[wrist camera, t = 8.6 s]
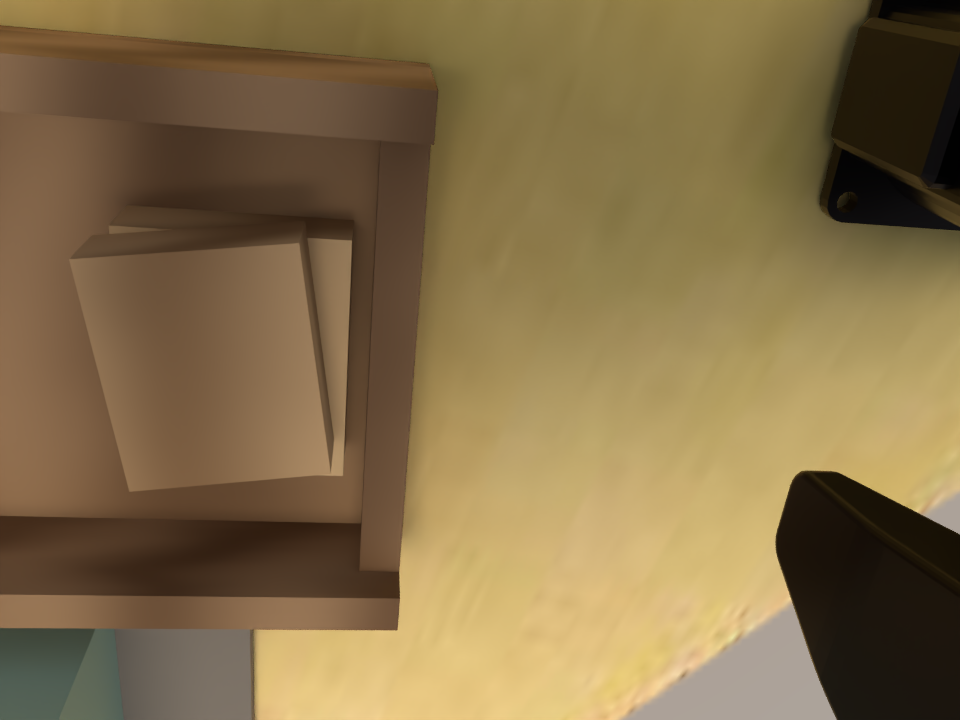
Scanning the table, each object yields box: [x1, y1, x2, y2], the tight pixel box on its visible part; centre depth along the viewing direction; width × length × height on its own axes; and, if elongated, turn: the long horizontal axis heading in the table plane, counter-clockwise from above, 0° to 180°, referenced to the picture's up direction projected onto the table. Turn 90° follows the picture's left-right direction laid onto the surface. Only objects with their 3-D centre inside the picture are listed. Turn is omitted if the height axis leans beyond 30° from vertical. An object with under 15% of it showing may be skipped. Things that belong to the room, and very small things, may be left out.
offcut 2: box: [109, 205, 354, 476], centre depth 21 cm, size 5×6×2 cm
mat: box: [114, 629, 254, 720], centre depth 26 cm, size 10×9×1 cm
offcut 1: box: [69, 221, 334, 492], centre depth 19 cm, size 4×5×2 cm
